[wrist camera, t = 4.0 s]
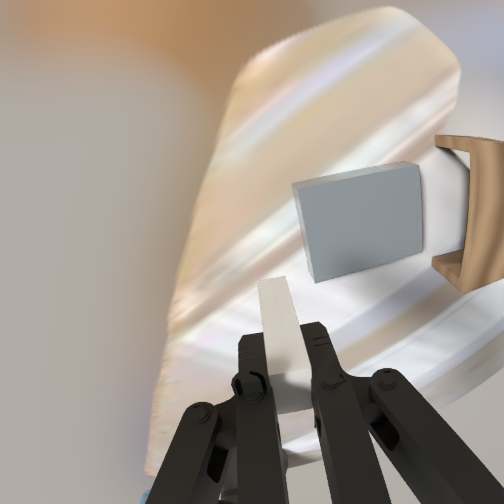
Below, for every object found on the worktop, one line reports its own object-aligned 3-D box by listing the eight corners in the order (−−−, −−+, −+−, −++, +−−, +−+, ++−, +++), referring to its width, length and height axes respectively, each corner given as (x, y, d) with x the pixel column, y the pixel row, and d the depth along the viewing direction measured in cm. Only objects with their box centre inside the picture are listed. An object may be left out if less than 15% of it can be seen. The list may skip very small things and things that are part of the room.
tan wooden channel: (431, 266, 29) (463, 294, 23) (435, 134, 23) (477, 140, 17) (474, 254, 29) (505, 277, 23) (481, 137, 22) (520, 145, 16)
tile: (307, 269, 29) (315, 283, 26) (290, 183, 25) (297, 189, 22) (408, 241, 28) (422, 252, 25) (402, 160, 24) (418, 164, 22)
